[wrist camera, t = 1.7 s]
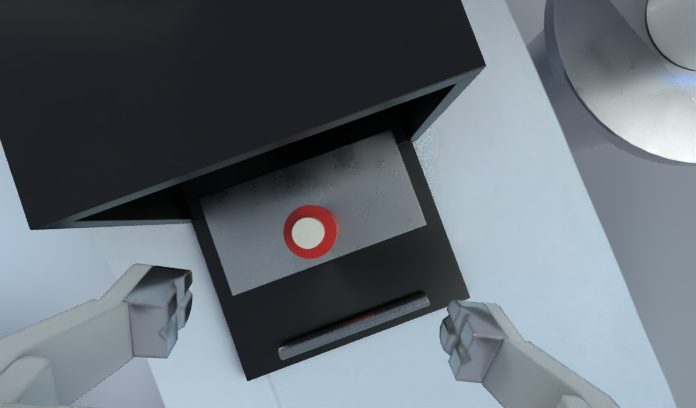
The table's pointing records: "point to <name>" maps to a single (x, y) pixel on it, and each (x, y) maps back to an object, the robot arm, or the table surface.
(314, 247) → the ketchup bottle
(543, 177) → the table surface
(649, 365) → the table surface
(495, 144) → the table surface
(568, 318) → the table surface
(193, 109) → the oven
